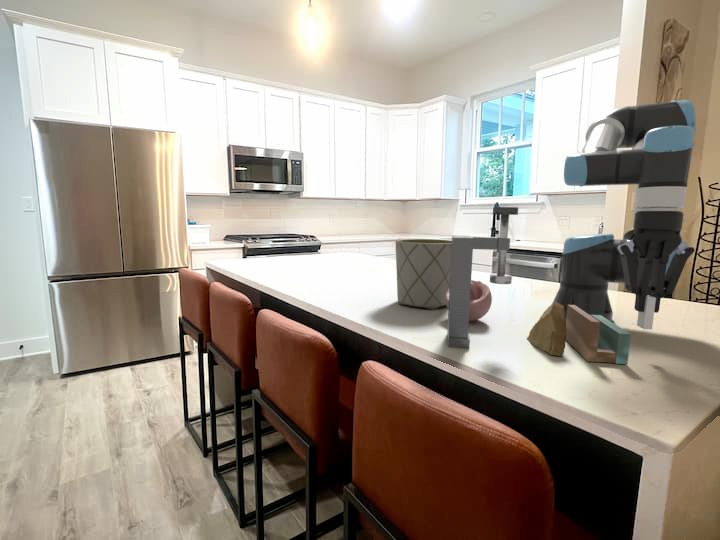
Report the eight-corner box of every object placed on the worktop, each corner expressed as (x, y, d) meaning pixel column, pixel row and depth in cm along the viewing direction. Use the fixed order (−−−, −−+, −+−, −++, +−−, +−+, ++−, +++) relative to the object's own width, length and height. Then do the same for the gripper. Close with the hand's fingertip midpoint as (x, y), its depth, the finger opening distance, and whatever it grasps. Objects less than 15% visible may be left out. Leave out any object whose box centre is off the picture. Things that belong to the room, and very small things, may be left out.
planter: (441, 314, 109) (444, 244, 106) (383, 305, 119) (384, 241, 116) (463, 301, 124) (466, 240, 121) (410, 294, 135) (411, 238, 132)
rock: (579, 350, 74) (582, 331, 82) (552, 314, 75) (558, 298, 83) (530, 370, 81) (537, 350, 89) (505, 336, 82) (515, 319, 90)
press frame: (497, 337, 89) (504, 236, 85) (504, 351, 80) (512, 239, 76) (447, 334, 91) (451, 235, 87) (448, 346, 82) (453, 237, 79)
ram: (510, 280, 84) (515, 207, 82) (514, 285, 79) (520, 207, 77) (486, 279, 85) (491, 207, 83) (489, 283, 80) (494, 207, 78)
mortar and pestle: (435, 320, 103) (437, 278, 101) (457, 312, 111) (459, 273, 110) (477, 329, 94) (480, 284, 93) (497, 320, 103) (500, 278, 101)
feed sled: (597, 340, 87) (601, 306, 86) (627, 364, 73) (632, 324, 72) (564, 338, 88) (567, 304, 87) (587, 361, 75) (591, 321, 73)
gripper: (685, 211, 77) (669, 324, 80) (613, 210, 79) (601, 320, 83) (711, 210, 70) (692, 335, 73) (631, 209, 72) (617, 330, 75)
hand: (644, 327), depth 78 cm, fingers closed
